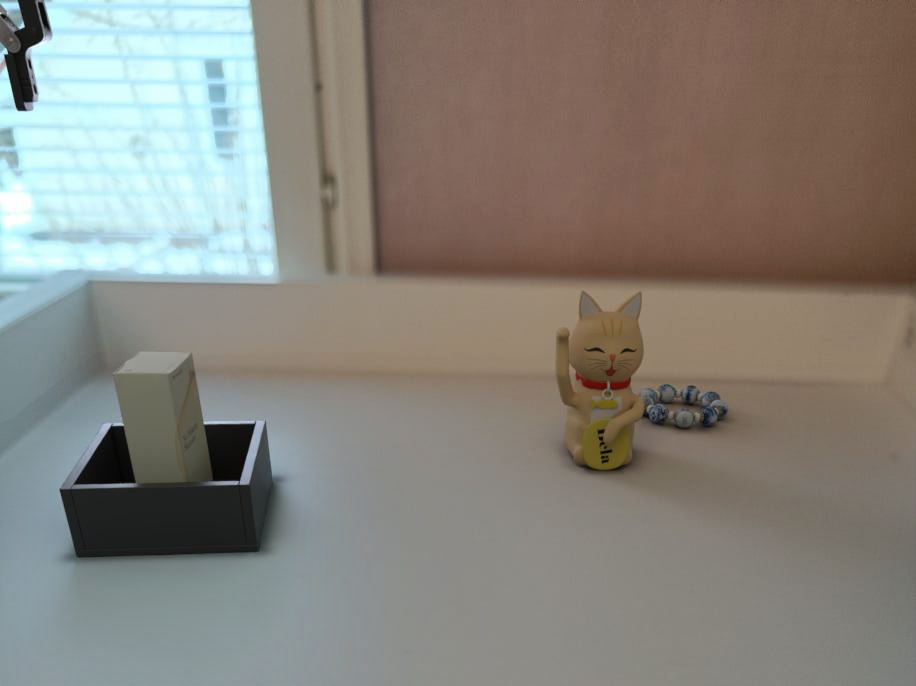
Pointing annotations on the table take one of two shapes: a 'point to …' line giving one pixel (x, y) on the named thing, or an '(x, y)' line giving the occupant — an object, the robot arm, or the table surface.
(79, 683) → the table surface
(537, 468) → the table surface
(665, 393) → the bracelet
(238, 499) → the dark grey open box
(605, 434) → the figurine
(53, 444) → the table surface
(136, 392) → the cosmetic box
